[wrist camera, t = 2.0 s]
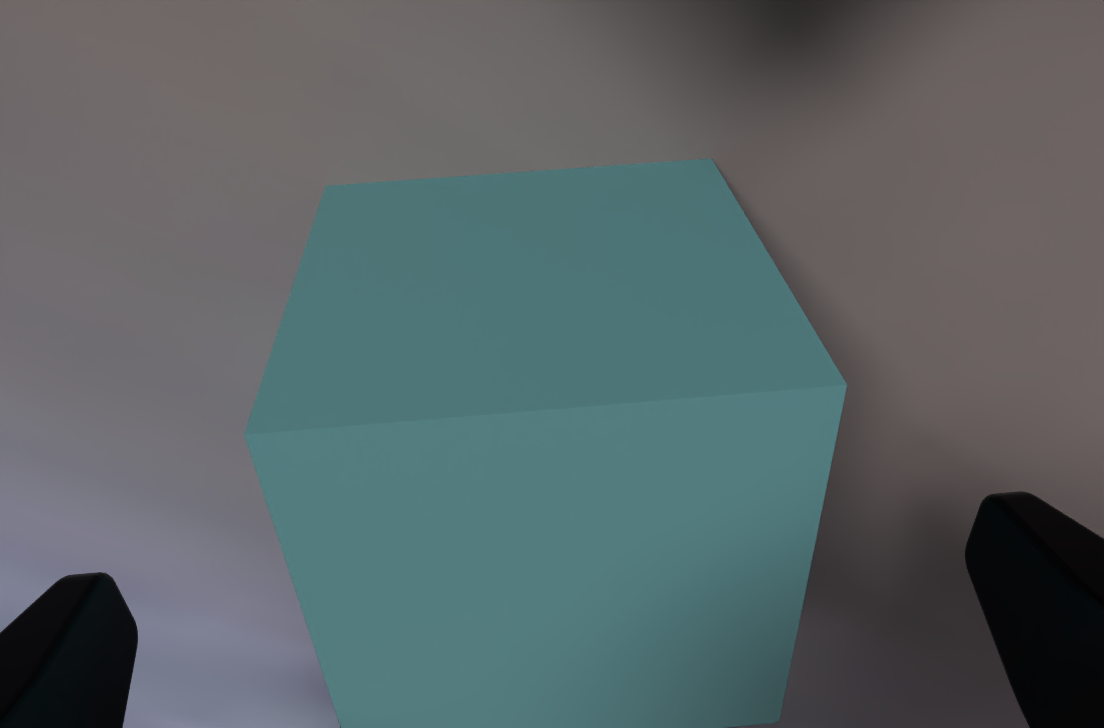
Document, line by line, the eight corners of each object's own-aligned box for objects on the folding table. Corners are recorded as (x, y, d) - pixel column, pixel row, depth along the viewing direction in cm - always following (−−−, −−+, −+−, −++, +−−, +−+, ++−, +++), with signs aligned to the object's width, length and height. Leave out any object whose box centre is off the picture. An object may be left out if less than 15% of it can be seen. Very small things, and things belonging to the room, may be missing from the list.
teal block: (709, 155, 11) (846, 384, 7) (690, 444, 14) (778, 722, 10) (326, 183, 11) (245, 433, 7) (386, 469, 14) (353, 764, 10)
